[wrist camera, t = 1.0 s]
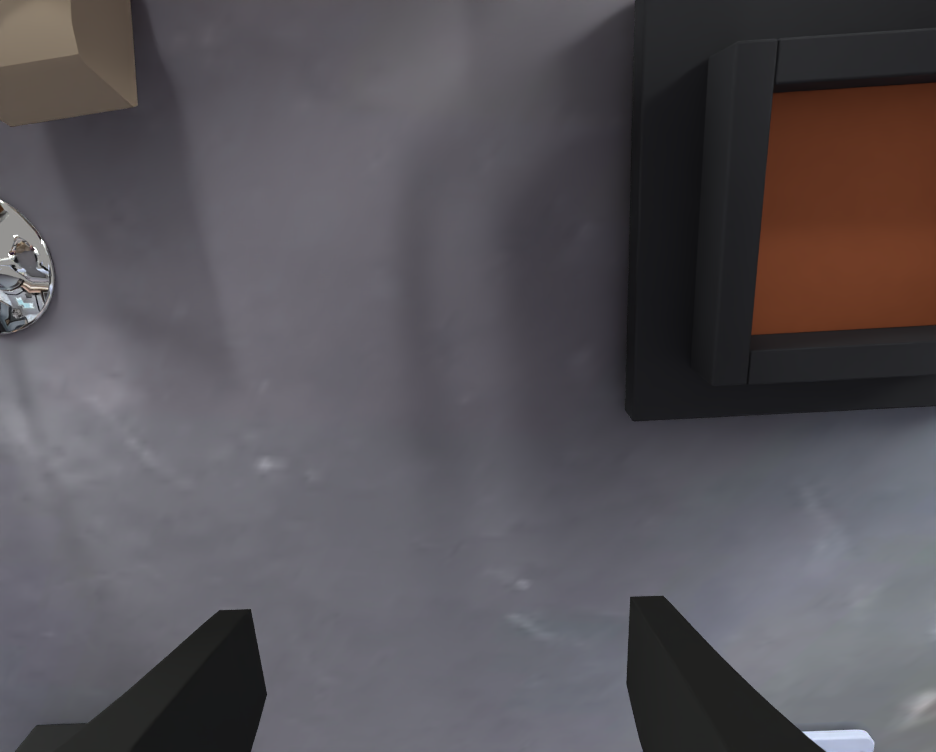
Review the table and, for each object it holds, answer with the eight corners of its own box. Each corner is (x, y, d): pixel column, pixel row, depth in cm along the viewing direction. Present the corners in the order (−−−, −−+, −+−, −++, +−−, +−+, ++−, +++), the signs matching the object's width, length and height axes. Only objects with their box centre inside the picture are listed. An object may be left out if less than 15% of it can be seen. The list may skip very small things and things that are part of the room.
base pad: (992, 392, 19) (1075, 425, 17) (624, 411, 20) (648, 446, 17) (1088, -33, 16) (1213, -78, 13) (634, -2, 16) (666, -39, 13)
